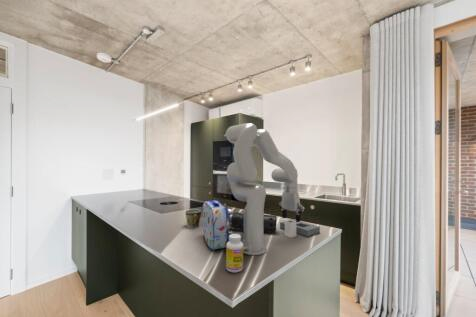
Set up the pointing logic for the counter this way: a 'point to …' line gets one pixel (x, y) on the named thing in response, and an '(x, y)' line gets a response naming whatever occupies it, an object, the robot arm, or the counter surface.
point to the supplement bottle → (234, 253)
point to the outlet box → (303, 228)
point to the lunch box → (215, 224)
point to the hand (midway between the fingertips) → (291, 219)
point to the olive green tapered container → (193, 218)
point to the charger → (290, 228)
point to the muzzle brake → (238, 221)
